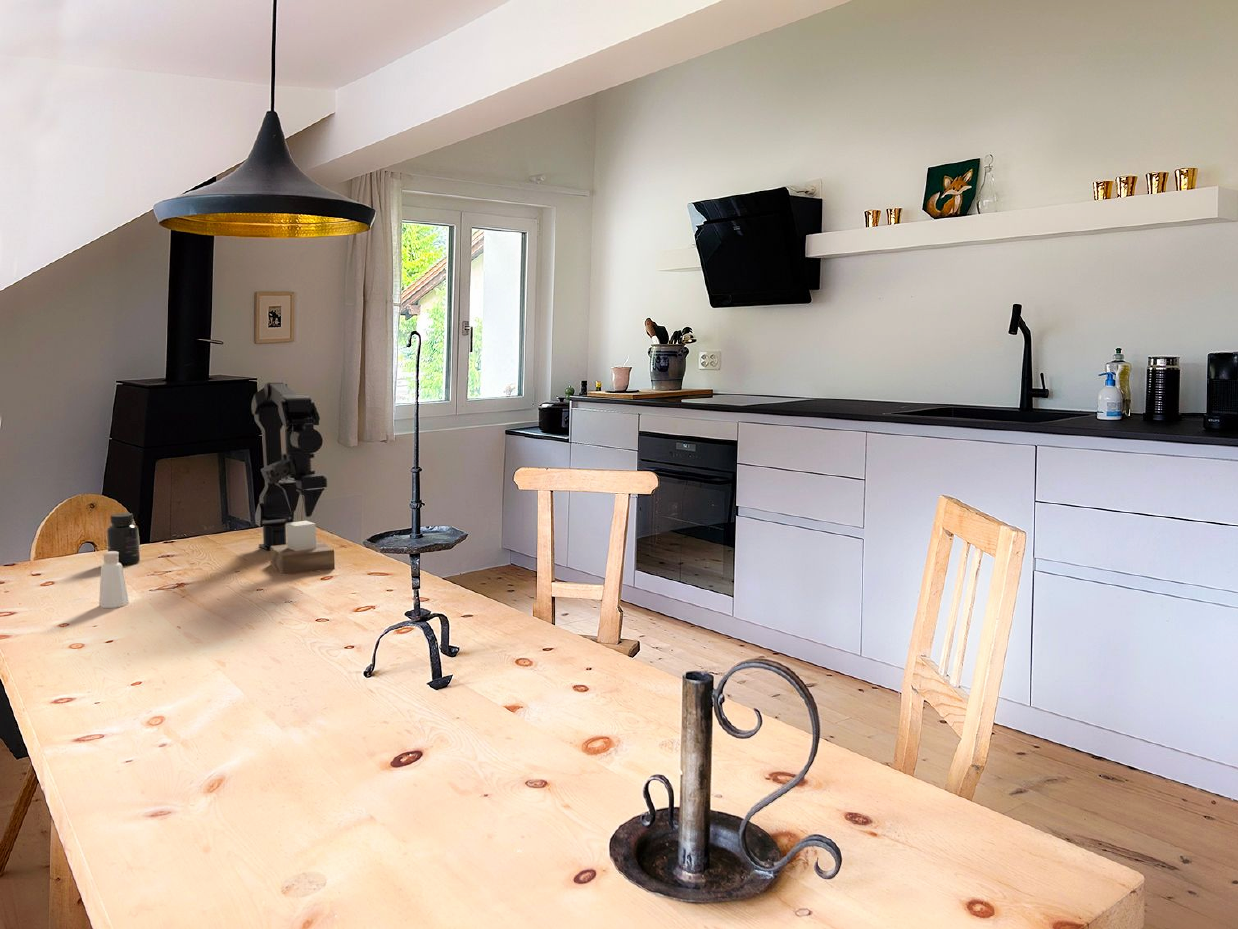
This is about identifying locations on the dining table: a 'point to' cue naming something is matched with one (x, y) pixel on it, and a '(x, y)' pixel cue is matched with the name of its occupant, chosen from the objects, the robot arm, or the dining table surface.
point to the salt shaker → (112, 582)
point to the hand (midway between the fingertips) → (300, 514)
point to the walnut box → (302, 559)
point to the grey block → (301, 535)
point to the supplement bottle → (124, 538)
